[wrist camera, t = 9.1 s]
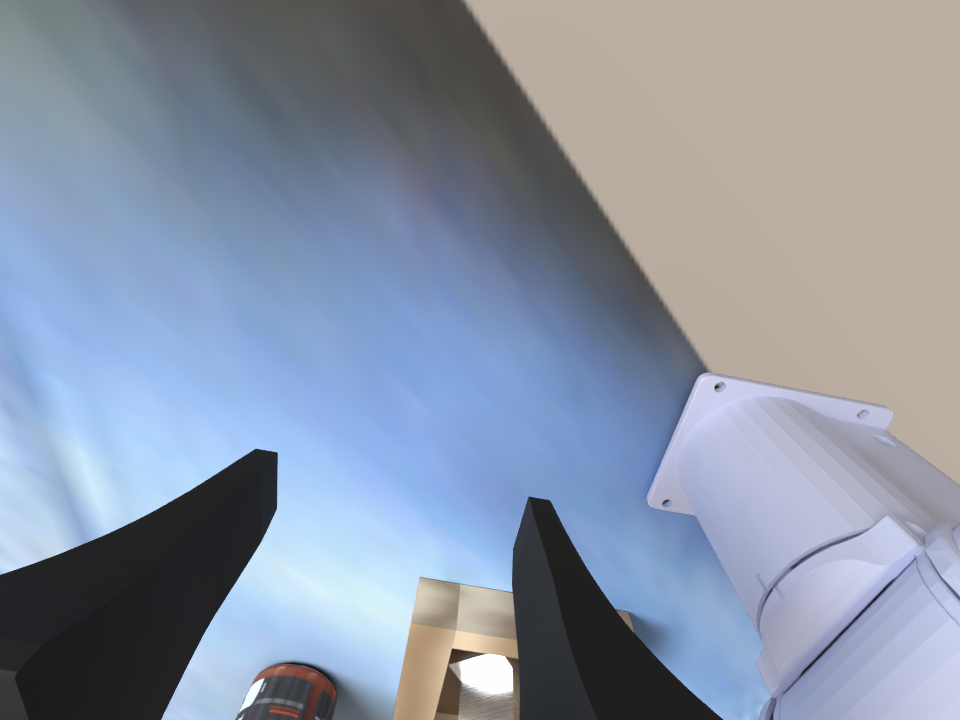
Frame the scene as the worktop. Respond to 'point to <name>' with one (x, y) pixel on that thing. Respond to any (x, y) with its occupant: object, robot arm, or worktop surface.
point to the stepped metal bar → (486, 685)
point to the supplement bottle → (289, 695)
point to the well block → (452, 644)
